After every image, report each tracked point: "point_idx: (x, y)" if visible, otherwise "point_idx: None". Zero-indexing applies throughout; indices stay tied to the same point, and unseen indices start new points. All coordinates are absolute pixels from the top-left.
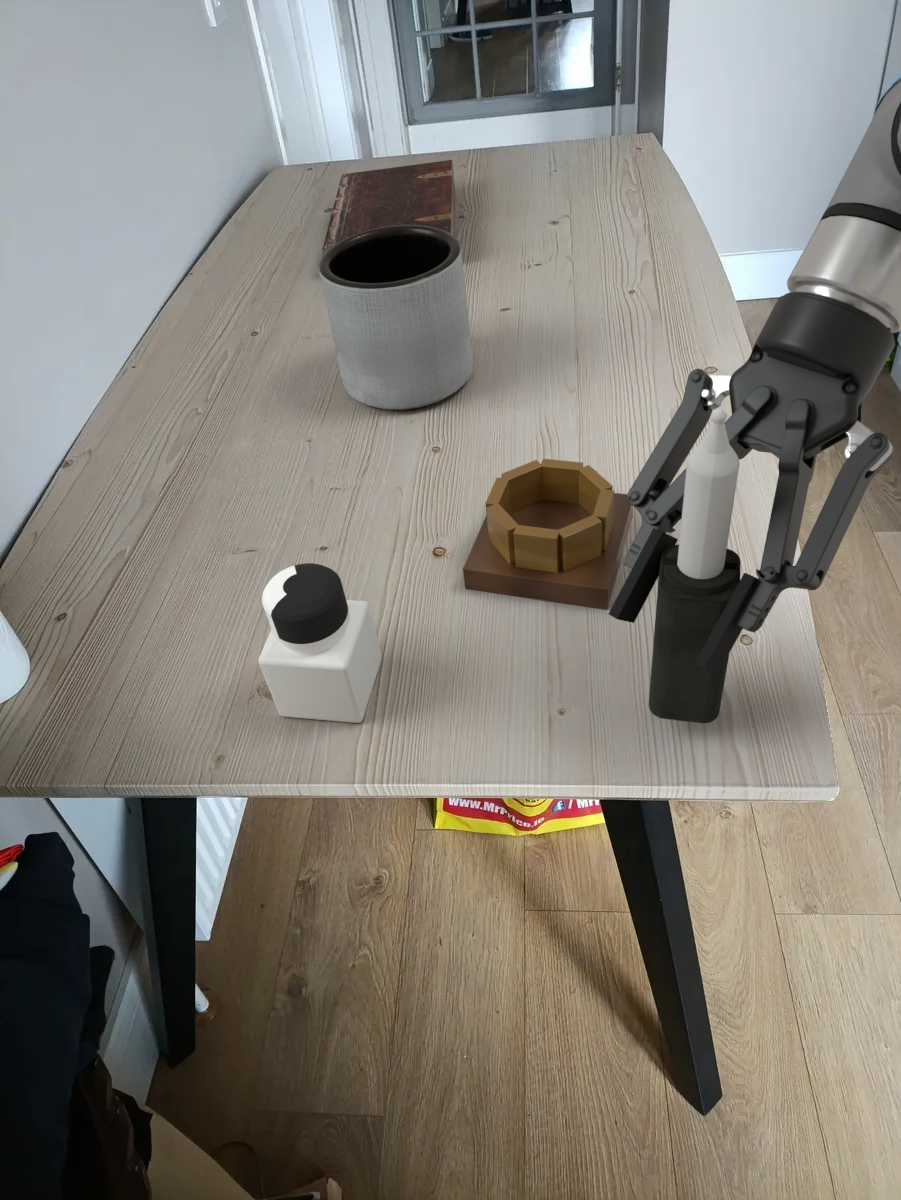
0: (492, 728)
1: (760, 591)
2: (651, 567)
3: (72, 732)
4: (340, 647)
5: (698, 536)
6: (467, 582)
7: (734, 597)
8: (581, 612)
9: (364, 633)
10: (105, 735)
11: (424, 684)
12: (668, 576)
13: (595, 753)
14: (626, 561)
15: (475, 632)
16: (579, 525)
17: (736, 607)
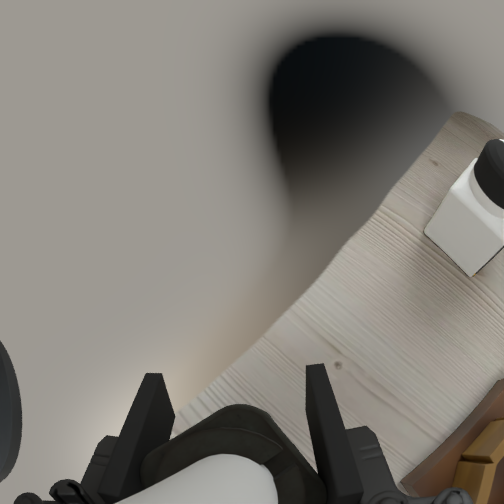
0: (363, 306)
1: (98, 486)
2: (322, 454)
3: (476, 132)
4: (469, 195)
5: (177, 475)
6: (501, 380)
7: (125, 457)
8: (415, 458)
9: (481, 233)
10: (470, 139)
11: (433, 290)
12: (256, 433)
13: (280, 356)
14: (367, 431)
15: (457, 359)
16: (485, 488)
17: (117, 444)
